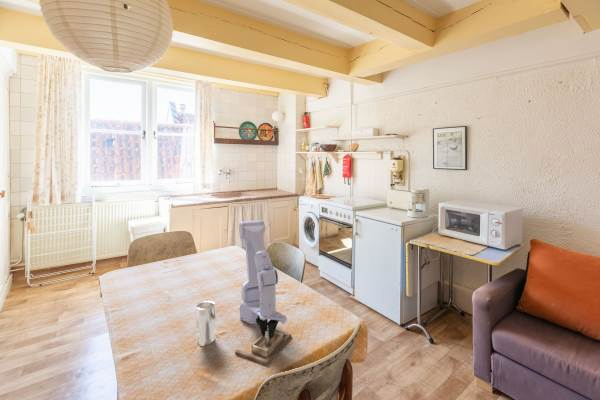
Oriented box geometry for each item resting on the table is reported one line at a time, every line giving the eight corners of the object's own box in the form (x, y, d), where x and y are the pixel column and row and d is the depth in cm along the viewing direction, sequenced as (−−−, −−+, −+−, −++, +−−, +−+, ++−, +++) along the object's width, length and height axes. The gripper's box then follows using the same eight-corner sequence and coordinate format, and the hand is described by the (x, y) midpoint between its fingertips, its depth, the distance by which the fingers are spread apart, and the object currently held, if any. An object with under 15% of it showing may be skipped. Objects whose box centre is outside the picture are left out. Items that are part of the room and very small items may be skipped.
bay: (235, 356, 105) (235, 351, 105) (263, 330, 121) (263, 325, 121) (266, 368, 99) (266, 362, 99) (291, 338, 115) (291, 334, 115)
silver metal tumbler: (218, 336, 117) (217, 300, 115) (214, 347, 110) (212, 309, 108) (200, 336, 116) (199, 300, 114) (195, 347, 109) (193, 310, 107)
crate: (251, 351, 106) (251, 335, 105) (267, 335, 116) (267, 320, 115) (268, 357, 103) (268, 340, 102) (283, 340, 113) (283, 324, 112)
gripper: (244, 301, 106) (245, 336, 108) (279, 311, 100) (279, 347, 102) (255, 293, 113) (256, 327, 115) (289, 302, 106) (289, 337, 108)
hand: (268, 336), depth 109 cm, fingers closed on crate, 2 cm apart
